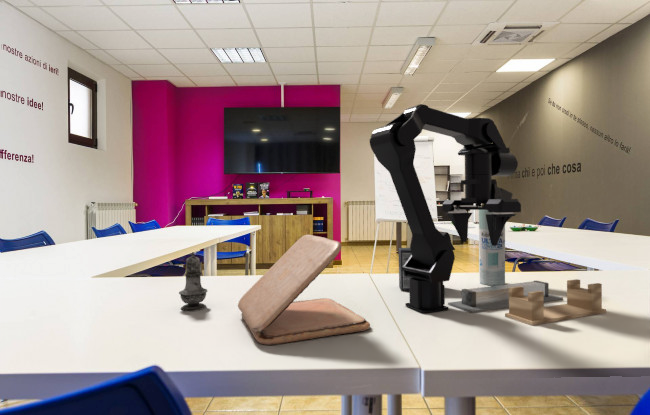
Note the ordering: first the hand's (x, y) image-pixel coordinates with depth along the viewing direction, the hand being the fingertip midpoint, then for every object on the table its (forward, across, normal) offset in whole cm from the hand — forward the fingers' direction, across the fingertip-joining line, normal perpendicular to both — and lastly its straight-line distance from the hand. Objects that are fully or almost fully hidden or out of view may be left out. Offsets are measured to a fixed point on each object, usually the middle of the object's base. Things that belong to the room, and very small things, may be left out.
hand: (478, 243), depth 89 cm
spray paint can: (+13, +11, -15) cm, 23 cm away
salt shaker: (+13, +19, +61) cm, 65 cm away
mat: (+12, -5, -3) cm, 14 cm away
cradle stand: (+12, -16, -4) cm, 21 cm away
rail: (+12, -5, -3) cm, 13 cm away
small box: (+13, +14, +6) cm, 20 cm away
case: (+13, 0, +43) cm, 45 cm away
